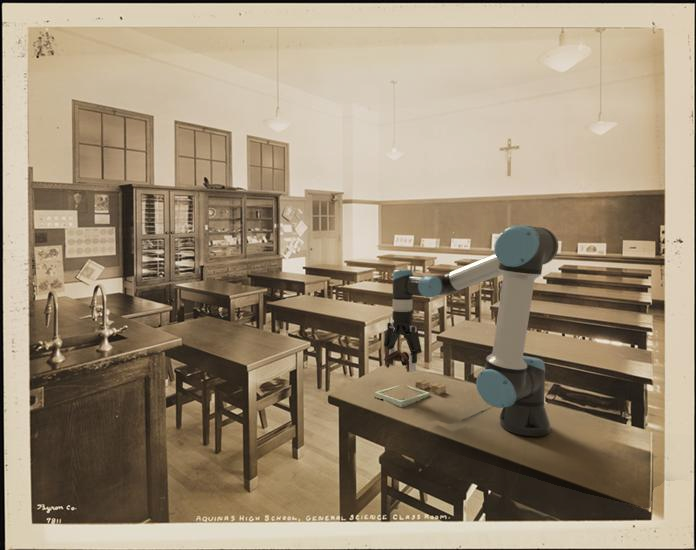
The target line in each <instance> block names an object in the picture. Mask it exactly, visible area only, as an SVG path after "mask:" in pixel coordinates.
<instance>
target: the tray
mask: <svg viewBox="0 0 696 550" xmlns="http://www.w3.org/2000/svg"><path fill="white" fill-rule="evenodd" d="M397 386H398V387H399V385H396V386H392V387H388V388H385V389H381V390H378V391H377V390H376V391H375V392H374V395H376V396H378V397H380V398H382V399H384V400H385V401H387V402H389V403H390V402H391V403H390V404H392V403H393V404H392V405H394V404H395V405H394V406H396V405H397V406H396V407H398V406H399V408H404V407H407V406H410V405H411V404H414V403H417V402H420V401H421V399H422V400H424V399H426V398H428V397H427V396H429V395H430V396H431V392H429V391H426V390H422V389H420V388H417V387H413V386H411V385H407V386H408V387H409V388H408V387H407V388H408V389H410V388H411V390H412V389H413V390H412V391H415V390H416V392H417V391H418V392H417V393H419V392H421V393H423V394H421V393H420V394H418V395H415V396H411V397H409V398H404V399H405V400H398V399H399V398H396V397H392V396H391V397H389V396H387V395H384V394H382V393H384V392H387V391H389V390H392V389H394V388H397ZM374 395H373V396H374ZM430 396H429V397H430ZM425 397H426V398H425ZM423 398H424V399H423ZM416 401H417V402H416ZM409 404H410V405H409Z"/></svg>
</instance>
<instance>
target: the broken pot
mask: <svg viewBox="0 0 696 550" xmlns="http://www.w3.org/2000/svg"><path fill="white" fill-rule="evenodd" d="M409 354H410V353H408V352H407V351H403V352H402V351H401V350H400V349H399V350H395V352H393V353H391V354H390V355H388V354H387V356H386V357H384V358H383V361H384V366H385V367H386V369H389V367H391V366H390V364H391V365H393V360H395V362H400V363H401V366H403V367H404V366H405V369H406V371H407V373H410V372H409Z"/></svg>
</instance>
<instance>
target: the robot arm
mask: <svg viewBox="0 0 696 550" xmlns="http://www.w3.org/2000/svg"><path fill="white" fill-rule="evenodd" d="M557 238H558V237H556V235H555V234H554V233H553V232H552V231H551V230H549V229H548V228H545V227H541V226H531V225H526V224H522V225H521V224H519V225H518V224H517V225H512V226H509V227H507V228H505V229H504V230H502V231H501V232H500V233H499V234H498V236H497V237H496V240H495V242H494V248H493V251H494V253H493V254H490V255H488V256H485V257H483V258H480V259H478V260H476V261H474V262H471V263H469V264H466V265H464V266H461V267H458V268H456V269H454V270H452V271H449V272H447V273H444V274H435V275H432V274H431V275H430V274H429V275H414V273H413V270H412V269H395V270H393V272H392V280H391V281H392V308H391V309H392V313H391V314H392V318H391V319H392V320H393V321H391V322H387V324H386V325H387V326H386V327H387V329H386V333H385V338H384V343H383V346H384V347H385V348H387V349H388V350H387V356H388V355H390V354H391V353H393V352H395V351H396V347H395V345H396V343H397V341H398V339H399V337H400V336H403V338H404V339H405V341H406V344H407V346H408V349H409V351H410V353H408V354H409V372H408V373H413V372H416V368H417V366H416V363H417V362H418V354H421V353H422V352H423V351H422V346H421V341H420V335H419V327H418V325H416V326H414V325H413V324H412V321H413V311H412V310H413V296H414V297H415V296H416V297H423V298H424V297H425V298H436V297H438V296H442V295H443V296H445V295H449V296H450V295H453V294H456V293H458V292H459V291H460V290H463V289H465V288H468V287H472V286H474V285H476V284H480V283H483V282H486V281H489V280H492V279H494V278H496V277H499V276H502V283H501V289H500V298H499V303H498V312H497V317H496V324H495V333H494V340H493V345H492V346H493V347H492V352H491V354H488V355H487V356H486V358H485V365H484V366H485V367H484V369H483V370H482V371H481V372H480V373H479V374H478V375H477V377H476V381H475V383H476V384H475V385H476V390H477V393H478V394H479V396H480V397H481V399H482V400H483V401H484V402H485V403H486V404H488V405H489V406H491V407H493V408H495V409H496V408H497V409H501V412H500V413H499V425H500V426H501V428H502V429H504V430H505V431H506V432H507V431H508V432H511V433H513V434H516V435H520V436H525V437H526V436H527V437H542V436H547V435H548V434H550V431H551V422H550V419H549V416H548V413H547V409H546V406H545V390H546V389H545V387H546V384H545V383H546V382H545V381H546V367H545V362H544V361H543V359H541V358H537V357H532V356H527V355H524V352H525V347H526V346H525V345H526V340H527V332H528V327H529V326H528V325H529V320H530V312H531V304H532V299H533V291H534V286H535V281H536V279H538V278H539V277H540V276H541V275H542V271H543V266H544V265H546V264H548V263H550V262H551V261H553V260H554V258H555V257H556V256H557V253H558V251H559V241H558V239H557ZM394 366H396V361H395V360H393V365H391V364H390V366H389V367H394Z"/></svg>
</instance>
